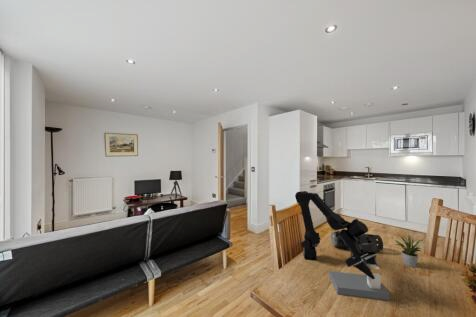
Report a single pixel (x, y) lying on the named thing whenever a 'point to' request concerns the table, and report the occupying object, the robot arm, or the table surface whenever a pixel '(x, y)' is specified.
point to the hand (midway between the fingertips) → (377, 277)
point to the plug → (376, 273)
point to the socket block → (356, 286)
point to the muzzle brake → (340, 243)
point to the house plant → (409, 251)
